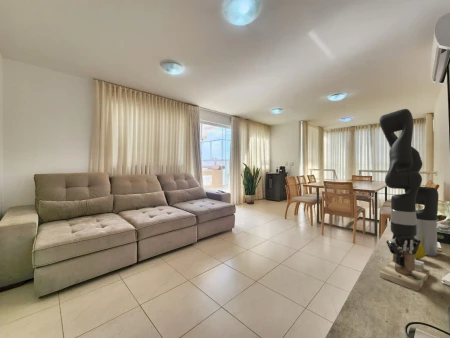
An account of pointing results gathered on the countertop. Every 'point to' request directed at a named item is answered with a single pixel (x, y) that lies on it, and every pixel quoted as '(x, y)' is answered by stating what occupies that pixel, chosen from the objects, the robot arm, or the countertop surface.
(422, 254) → the lemon
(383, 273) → the tuner board
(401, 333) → the countertop surface
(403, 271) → the peg
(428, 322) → the countertop surface
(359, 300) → the countertop surface
